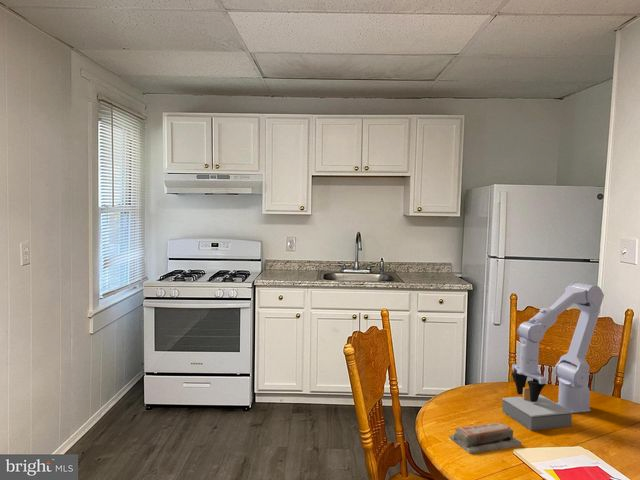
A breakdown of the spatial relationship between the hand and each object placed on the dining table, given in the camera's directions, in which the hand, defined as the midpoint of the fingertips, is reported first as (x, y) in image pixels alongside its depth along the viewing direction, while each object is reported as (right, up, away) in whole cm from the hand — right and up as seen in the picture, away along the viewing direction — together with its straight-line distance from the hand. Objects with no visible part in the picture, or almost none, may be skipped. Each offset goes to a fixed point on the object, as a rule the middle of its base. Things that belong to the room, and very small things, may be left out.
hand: (527, 397), depth 160 cm
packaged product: (-22, -7, -21) cm, 31 cm away
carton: (+1, -6, -4) cm, 7 cm away
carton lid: (+1, -1, -4) cm, 5 cm away
